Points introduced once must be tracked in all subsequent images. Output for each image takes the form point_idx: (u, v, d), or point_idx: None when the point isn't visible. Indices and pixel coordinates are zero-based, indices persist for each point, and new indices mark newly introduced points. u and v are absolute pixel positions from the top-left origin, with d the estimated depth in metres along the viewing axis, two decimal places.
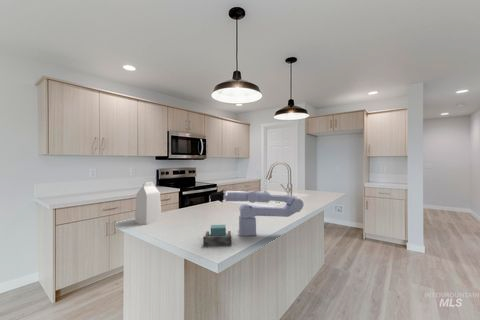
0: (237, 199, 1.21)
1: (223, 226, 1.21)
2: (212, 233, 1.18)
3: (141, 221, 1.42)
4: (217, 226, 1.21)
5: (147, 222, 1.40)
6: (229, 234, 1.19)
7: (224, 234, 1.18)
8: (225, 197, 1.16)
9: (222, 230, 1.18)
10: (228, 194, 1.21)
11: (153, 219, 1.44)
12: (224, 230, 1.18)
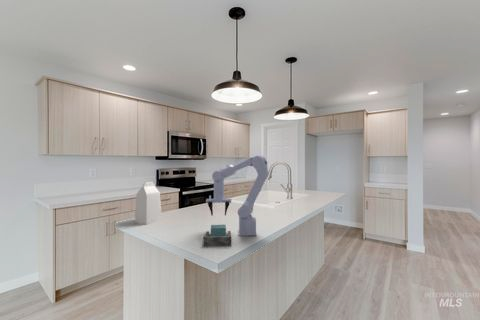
0: (219, 190, 1.26)
1: (223, 226, 1.21)
2: (212, 233, 1.18)
3: (141, 221, 1.42)
4: (217, 226, 1.21)
5: (147, 222, 1.40)
6: (229, 234, 1.19)
7: (224, 234, 1.18)
8: (206, 200, 1.28)
9: (222, 230, 1.18)
10: None
11: (153, 219, 1.44)
12: (225, 230, 1.18)
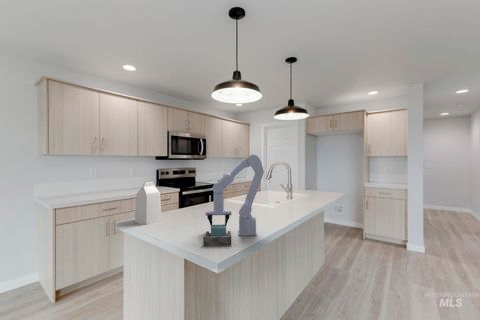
0: (220, 202, 1.23)
1: (223, 226, 1.21)
2: (212, 233, 1.17)
3: (141, 221, 1.42)
4: (217, 226, 1.21)
5: (147, 222, 1.40)
6: (229, 234, 1.19)
7: (224, 234, 1.18)
8: None
9: (223, 230, 1.18)
10: None
11: (153, 219, 1.44)
12: (225, 230, 1.18)
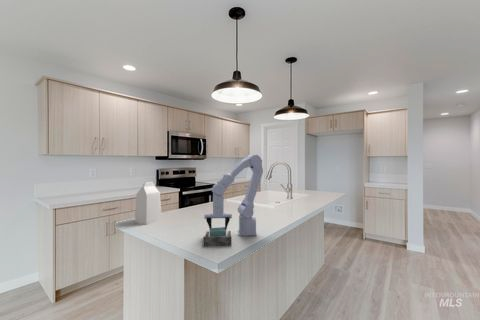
0: (221, 204, 1.17)
1: (222, 228, 1.16)
2: None
3: (141, 221, 1.42)
4: (216, 229, 1.15)
5: (147, 222, 1.40)
6: (229, 234, 1.19)
7: None
8: None
9: (223, 233, 1.13)
10: None
11: (153, 219, 1.44)
12: (225, 233, 1.13)
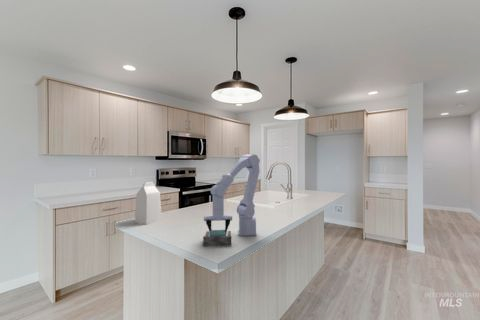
0: (222, 206, 1.14)
1: (222, 231, 1.12)
2: None
3: (141, 221, 1.42)
4: (216, 232, 1.11)
5: (147, 222, 1.40)
6: (229, 234, 1.19)
7: None
8: (204, 218, 1.15)
9: None
10: None
11: (153, 219, 1.44)
12: None
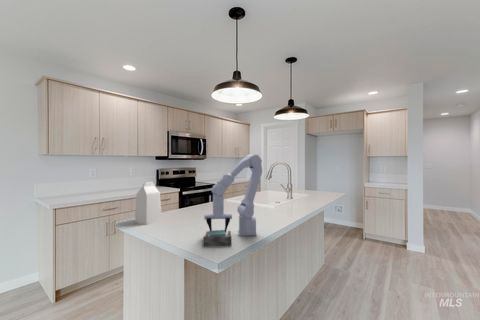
0: (222, 205, 1.16)
1: (222, 231, 1.12)
2: None
3: (141, 221, 1.42)
4: (216, 232, 1.11)
5: (147, 222, 1.40)
6: (229, 234, 1.19)
7: None
8: None
9: None
10: None
11: (153, 219, 1.44)
12: None
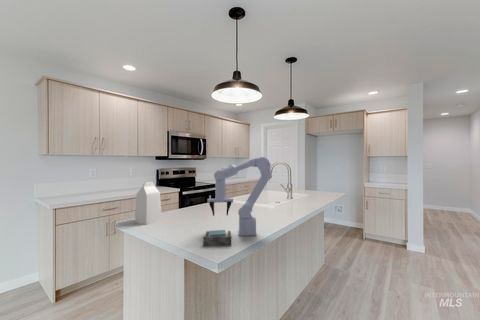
0: (221, 189, 1.24)
1: (222, 231, 1.12)
2: None
3: (141, 221, 1.42)
4: (216, 232, 1.11)
5: (147, 222, 1.40)
6: (229, 234, 1.19)
7: None
8: None
9: None
10: None
11: (153, 219, 1.44)
12: None
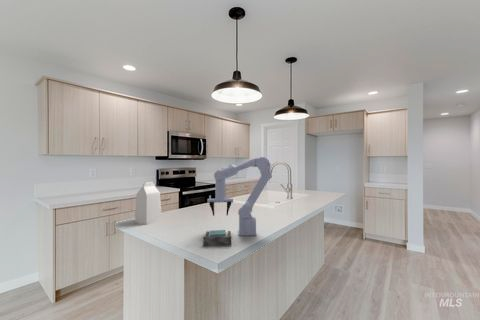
0: (221, 189, 1.24)
1: (222, 231, 1.12)
2: None
3: (141, 221, 1.42)
4: (216, 232, 1.11)
5: (147, 222, 1.40)
6: (229, 234, 1.19)
7: None
8: None
9: None
10: None
11: (153, 219, 1.44)
12: None
